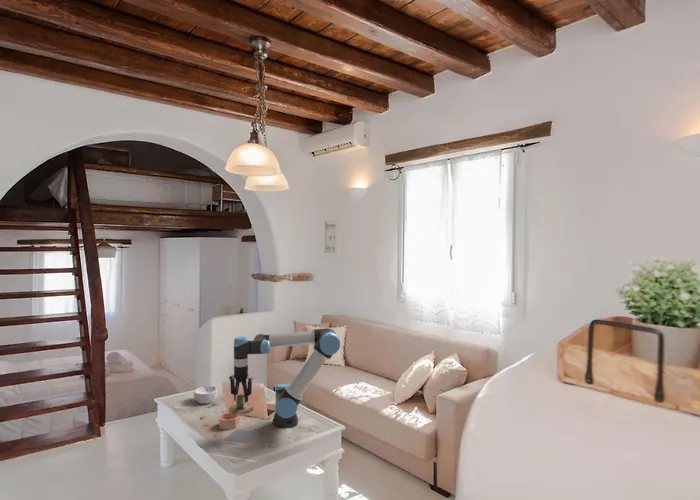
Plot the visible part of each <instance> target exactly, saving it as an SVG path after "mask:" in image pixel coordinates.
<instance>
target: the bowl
mask: <svg viewBox="0 0 700 500" xmlns="http://www.w3.org/2000/svg"><path fill="white" fill-rule="evenodd" d="M239 425H240V415H235V414H231V413H230V412H229V411H228V412H225V413H221V414H220V415H219V416H218V427H219V429H221V430H226V431H227V430H234V429H237V428H238V426H239Z"/></svg>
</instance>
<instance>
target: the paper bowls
mask: <svg viewBox="0 0 700 500" xmlns="http://www.w3.org/2000/svg"><path fill="white" fill-rule="evenodd" d="M217 397H218V387H217V386H213V385H206V386H201V387H198V388H195V390H194V391H193V399H194V401H197V402H198V403H199V404H201V405H202V404H203V405H204V404H205V405H206V404H210V403H213V402H214V400H215V399H216V398H217Z"/></svg>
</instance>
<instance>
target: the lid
mask: <svg viewBox="0 0 700 500" xmlns="http://www.w3.org/2000/svg"><path fill="white" fill-rule="evenodd" d="M237 395H238V394H237ZM243 397H244V393H242V394H241V393H240V394H239V395H238V396H237V408H236V404H234V405H231V406H230V407H229V408H228V413H229V412H230V413H231V414H235V415H239V416H241V415H247V414H250V413H252V412H253V411H254V406H253V405H252V404H250V403H247V407H246V408H245V409H243Z"/></svg>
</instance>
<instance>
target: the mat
mask: <svg viewBox="0 0 700 500" xmlns="http://www.w3.org/2000/svg"><path fill="white" fill-rule="evenodd" d="M259 432H260V431H254V430H247V429H240V428H235V430H234V431H233V432H231V433H230V434H229V435H228V436H226V437H225V438H224V439H223V441H228V442H234V443H240V444H248V443H249V442H250V441H251V440H252V439H253V438H254V437H255V436H256V435H258V434H259Z"/></svg>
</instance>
